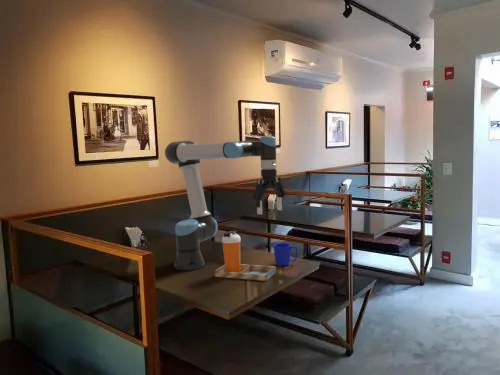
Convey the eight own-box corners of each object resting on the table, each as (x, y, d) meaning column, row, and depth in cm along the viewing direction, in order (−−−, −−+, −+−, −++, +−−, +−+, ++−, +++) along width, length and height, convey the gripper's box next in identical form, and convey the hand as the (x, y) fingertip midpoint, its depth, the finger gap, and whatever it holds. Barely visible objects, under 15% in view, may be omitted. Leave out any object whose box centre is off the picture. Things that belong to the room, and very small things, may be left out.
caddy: (214, 276, 194) (213, 271, 194) (226, 268, 207) (226, 263, 206) (266, 280, 184) (266, 275, 184) (276, 271, 197) (275, 266, 196)
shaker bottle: (245, 271, 200) (243, 230, 198) (237, 276, 192) (234, 234, 190) (229, 269, 204) (226, 229, 202) (220, 275, 196) (217, 233, 194)
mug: (297, 267, 202) (296, 247, 201) (273, 267, 204) (272, 247, 203) (299, 262, 210) (298, 243, 209) (275, 262, 212) (274, 243, 211)
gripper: (255, 170, 188) (256, 216, 191) (291, 167, 205) (292, 209, 207) (244, 170, 194) (245, 214, 196) (280, 166, 210) (281, 207, 213)
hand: (269, 212), depth 202 cm, fingers open, 13 cm apart
